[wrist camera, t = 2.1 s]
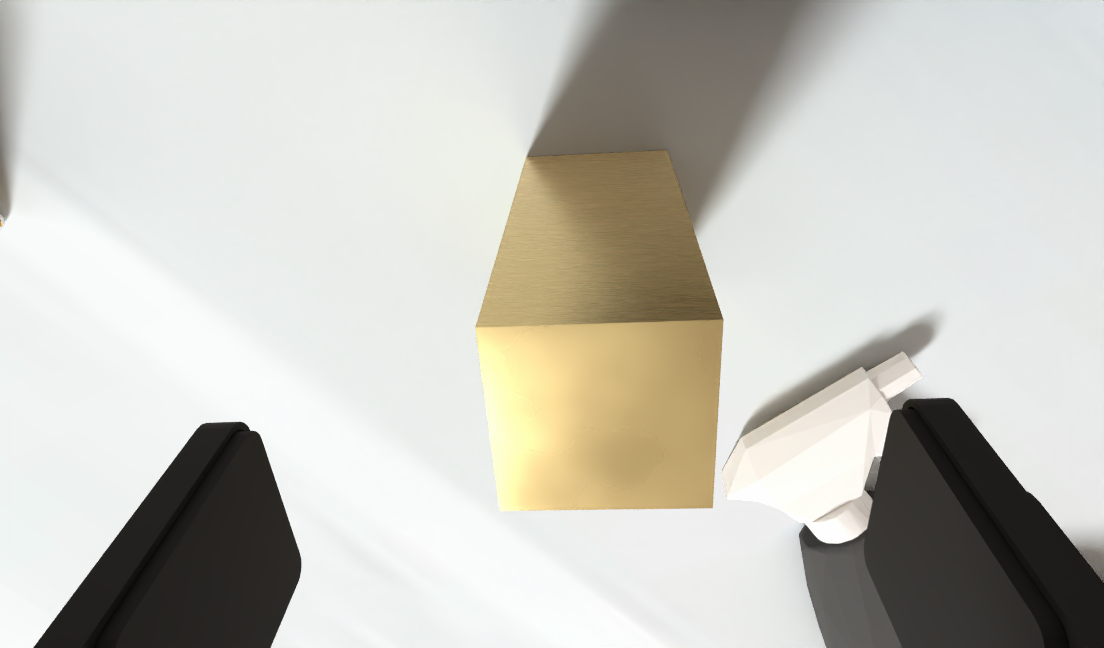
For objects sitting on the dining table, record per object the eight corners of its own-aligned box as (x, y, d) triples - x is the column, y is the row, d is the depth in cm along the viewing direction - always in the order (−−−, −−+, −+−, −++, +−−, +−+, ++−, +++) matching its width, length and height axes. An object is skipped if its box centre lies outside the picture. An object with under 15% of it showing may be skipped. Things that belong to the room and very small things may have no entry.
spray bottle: (947, 785, 35) (650, 463, 27) (1190, 705, 31) (929, 303, 23) (975, 853, 32) (655, 520, 24) (1243, 775, 28) (970, 350, 20)
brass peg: (667, 150, 20) (723, 319, 11) (665, 278, 22) (712, 508, 13) (526, 156, 20) (475, 327, 12) (536, 283, 22) (500, 510, 14)
